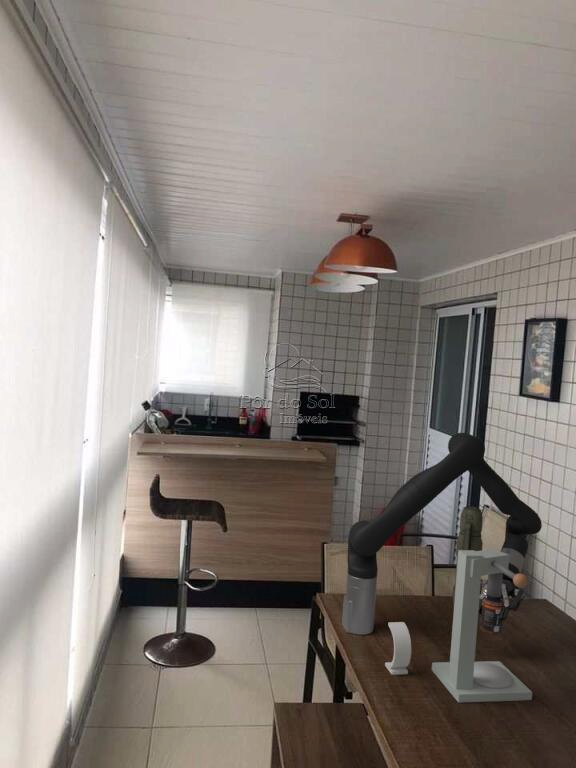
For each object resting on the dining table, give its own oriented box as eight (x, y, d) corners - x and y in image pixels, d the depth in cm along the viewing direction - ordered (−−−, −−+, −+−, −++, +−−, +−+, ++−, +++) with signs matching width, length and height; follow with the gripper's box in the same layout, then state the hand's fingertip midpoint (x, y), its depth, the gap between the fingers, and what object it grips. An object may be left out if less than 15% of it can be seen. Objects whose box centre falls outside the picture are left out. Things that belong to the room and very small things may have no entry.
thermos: (450, 608, 209) (457, 509, 208) (453, 597, 220) (461, 502, 219) (476, 613, 206) (484, 512, 205) (478, 602, 216) (486, 506, 216)
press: (477, 725, 138) (489, 572, 138) (431, 669, 164) (441, 539, 163) (555, 722, 142) (567, 572, 141) (498, 668, 167) (508, 540, 166)
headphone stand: (400, 664, 165) (403, 622, 165) (409, 676, 159) (412, 631, 159) (384, 665, 164) (388, 622, 164) (393, 676, 158) (396, 632, 158)
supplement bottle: (502, 637, 171) (506, 598, 170) (481, 633, 172) (484, 595, 172) (499, 628, 177) (502, 590, 176) (478, 625, 178) (482, 587, 177)
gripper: (482, 554, 184) (462, 601, 175) (530, 566, 175) (512, 618, 166) (487, 567, 188) (468, 614, 179) (534, 580, 179) (517, 631, 170)
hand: (489, 616), depth 173 cm, fingers closed on supplement bottle, 6 cm apart
